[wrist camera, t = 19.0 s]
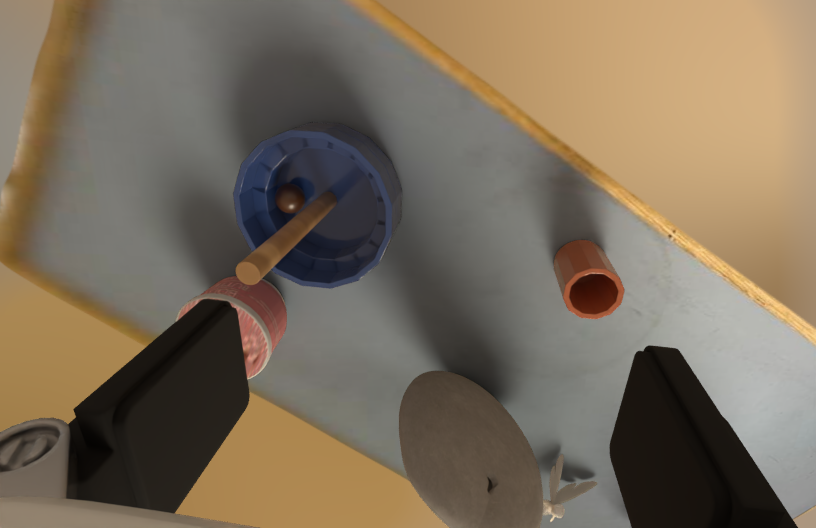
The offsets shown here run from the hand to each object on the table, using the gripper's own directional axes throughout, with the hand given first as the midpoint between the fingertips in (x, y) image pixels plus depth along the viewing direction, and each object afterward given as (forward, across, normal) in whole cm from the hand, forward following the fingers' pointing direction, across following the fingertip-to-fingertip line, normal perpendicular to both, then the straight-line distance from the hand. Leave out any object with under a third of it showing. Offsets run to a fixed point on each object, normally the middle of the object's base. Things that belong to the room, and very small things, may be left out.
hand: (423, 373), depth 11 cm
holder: (+36, -12, +12) cm, 40 cm away
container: (+36, +24, +21) cm, 48 cm away
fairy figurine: (+36, -14, +43) cm, 58 cm away
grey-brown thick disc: (+36, -3, +30) cm, 47 cm away
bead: (+34, +18, +7) cm, 39 cm away
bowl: (+36, +14, +7) cm, 40 cm away
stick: (+36, +14, +7) cm, 39 cm away
